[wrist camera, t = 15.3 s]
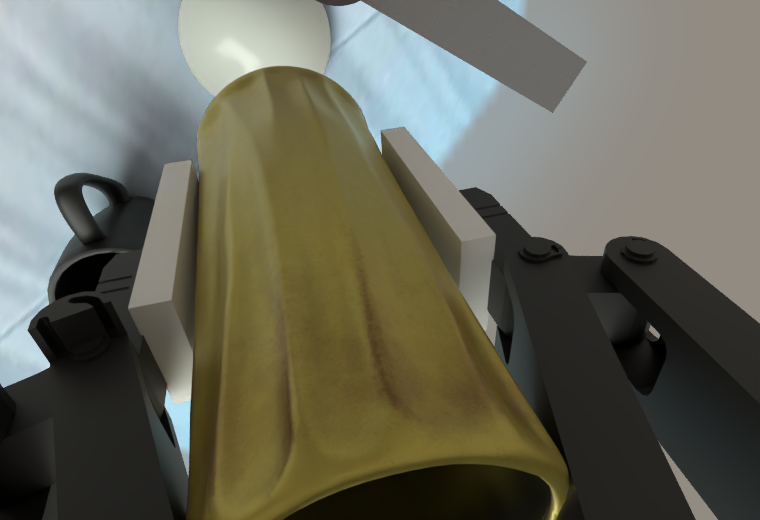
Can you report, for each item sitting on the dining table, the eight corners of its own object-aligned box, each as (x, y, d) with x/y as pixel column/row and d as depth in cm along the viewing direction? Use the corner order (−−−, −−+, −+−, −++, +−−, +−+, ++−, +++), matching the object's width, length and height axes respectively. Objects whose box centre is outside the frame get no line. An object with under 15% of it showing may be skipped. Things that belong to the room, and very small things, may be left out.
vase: (231, 243, 19) (237, 720, 8) (166, 87, 15) (-5, 562, 4) (380, 203, 20) (587, 587, 8) (352, 45, 16) (653, 348, 5)
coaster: (157, -41, 30) (156, -40, 29) (318, -55, 31) (320, -55, 31) (202, 118, 36) (202, 122, 35) (336, 99, 37) (338, 102, 37)
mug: (159, 123, 35) (141, 179, 28) (207, 257, 42) (203, 330, 35) (37, 143, 34) (-17, 207, 26) (108, 277, 41) (82, 358, 33)
